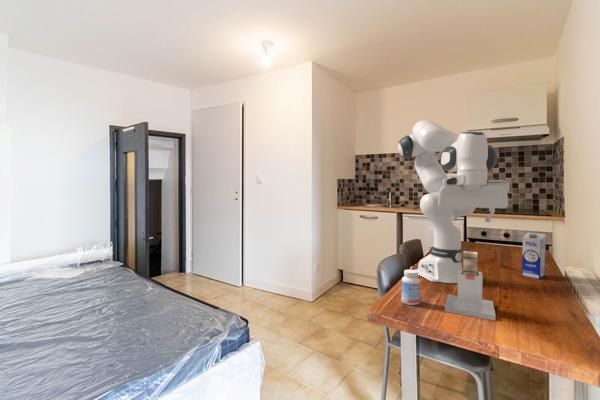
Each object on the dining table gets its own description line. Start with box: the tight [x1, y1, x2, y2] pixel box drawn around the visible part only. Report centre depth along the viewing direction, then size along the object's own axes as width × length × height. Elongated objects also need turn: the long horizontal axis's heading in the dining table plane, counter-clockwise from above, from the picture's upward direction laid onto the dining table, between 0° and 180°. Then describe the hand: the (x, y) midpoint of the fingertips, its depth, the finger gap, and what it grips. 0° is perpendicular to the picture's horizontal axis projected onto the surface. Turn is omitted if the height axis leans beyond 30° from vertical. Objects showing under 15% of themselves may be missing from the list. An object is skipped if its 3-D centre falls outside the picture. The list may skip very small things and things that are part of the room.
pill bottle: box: [400, 269, 421, 306], centre depth 107 cm, size 6×6×11 cm
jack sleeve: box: [444, 269, 496, 321], centre depth 101 cm, size 14×14×12 cm
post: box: [462, 250, 479, 276], centre depth 101 cm, size 4×4×17 cm
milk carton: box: [521, 232, 547, 280], centre depth 139 cm, size 7×7×20 cm
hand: (471, 221), depth 100 cm, fingers open, 8 cm apart
